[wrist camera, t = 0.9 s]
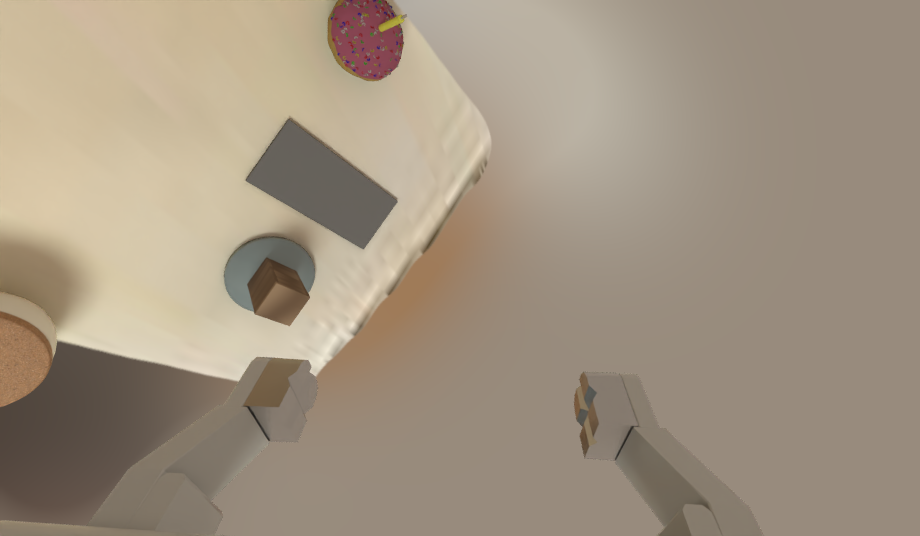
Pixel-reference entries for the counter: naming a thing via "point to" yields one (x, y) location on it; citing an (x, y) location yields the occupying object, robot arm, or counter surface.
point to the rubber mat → (321, 186)
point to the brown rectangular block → (277, 292)
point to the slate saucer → (252, 257)
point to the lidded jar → (23, 347)
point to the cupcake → (366, 37)
